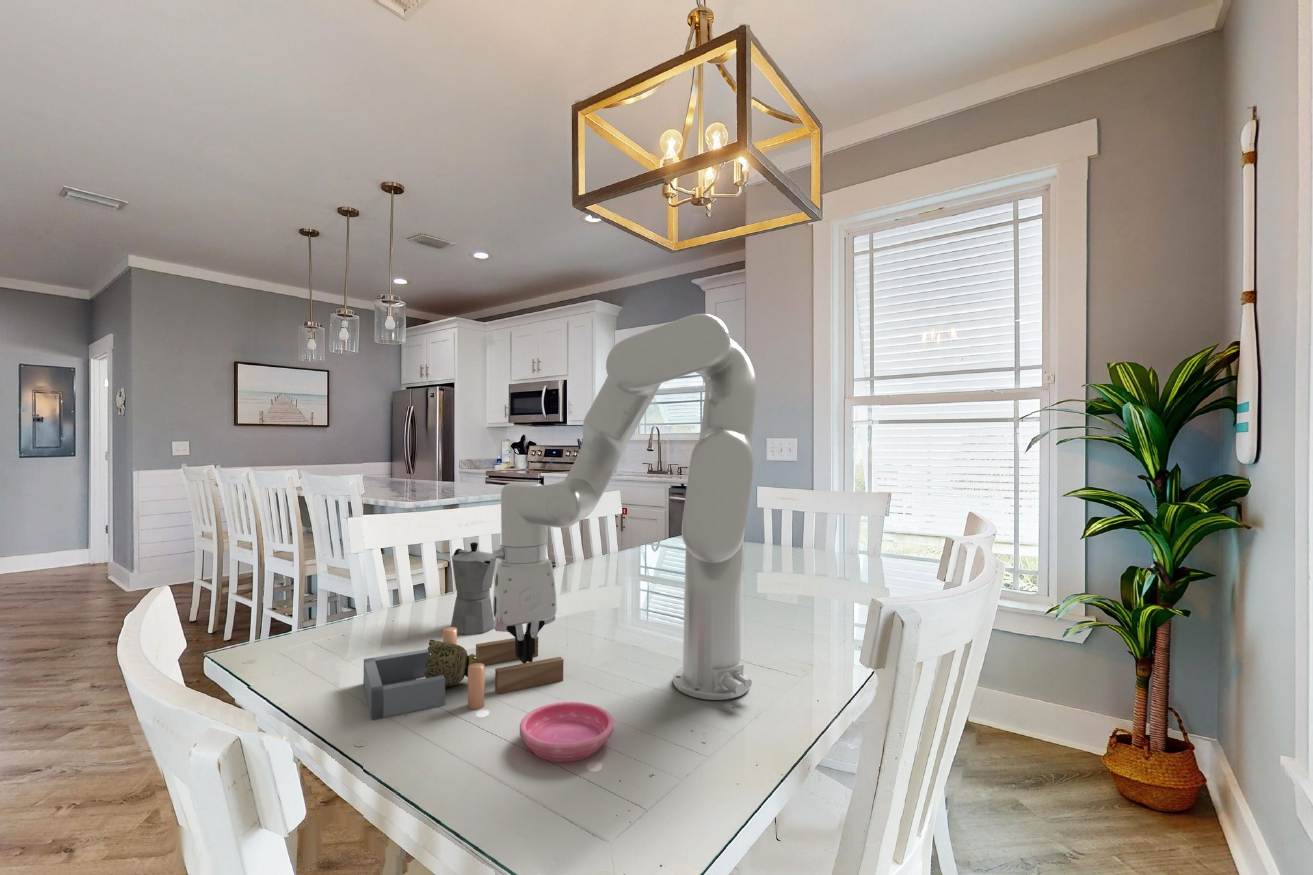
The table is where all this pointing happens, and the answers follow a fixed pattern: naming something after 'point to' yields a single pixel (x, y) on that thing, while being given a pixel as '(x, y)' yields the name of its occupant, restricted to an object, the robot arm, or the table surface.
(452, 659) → the cup
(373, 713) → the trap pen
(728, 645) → the robot arm
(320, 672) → the table surface
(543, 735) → the pink bowl
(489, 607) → the coffeepot
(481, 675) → the goal posts
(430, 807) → the table surface
